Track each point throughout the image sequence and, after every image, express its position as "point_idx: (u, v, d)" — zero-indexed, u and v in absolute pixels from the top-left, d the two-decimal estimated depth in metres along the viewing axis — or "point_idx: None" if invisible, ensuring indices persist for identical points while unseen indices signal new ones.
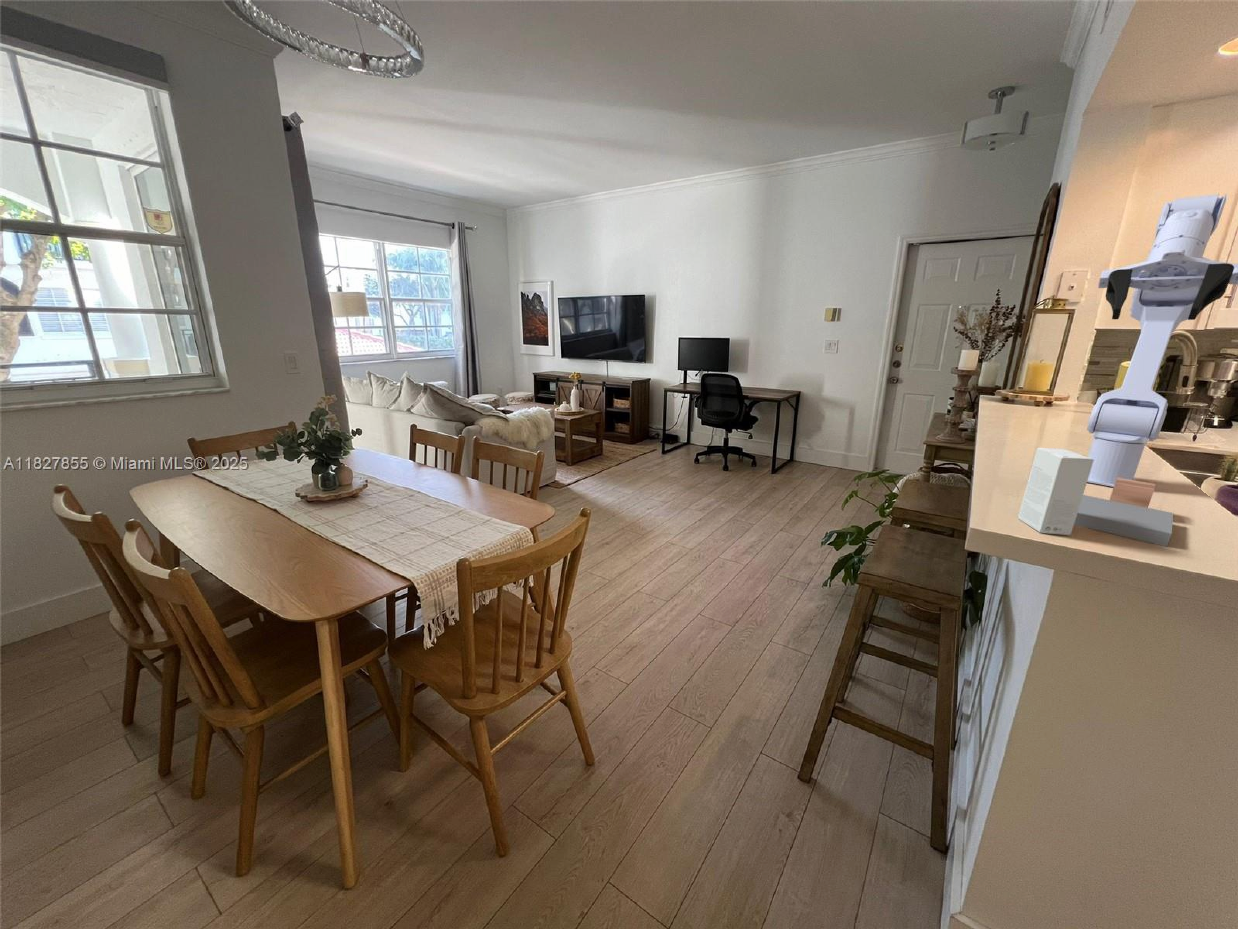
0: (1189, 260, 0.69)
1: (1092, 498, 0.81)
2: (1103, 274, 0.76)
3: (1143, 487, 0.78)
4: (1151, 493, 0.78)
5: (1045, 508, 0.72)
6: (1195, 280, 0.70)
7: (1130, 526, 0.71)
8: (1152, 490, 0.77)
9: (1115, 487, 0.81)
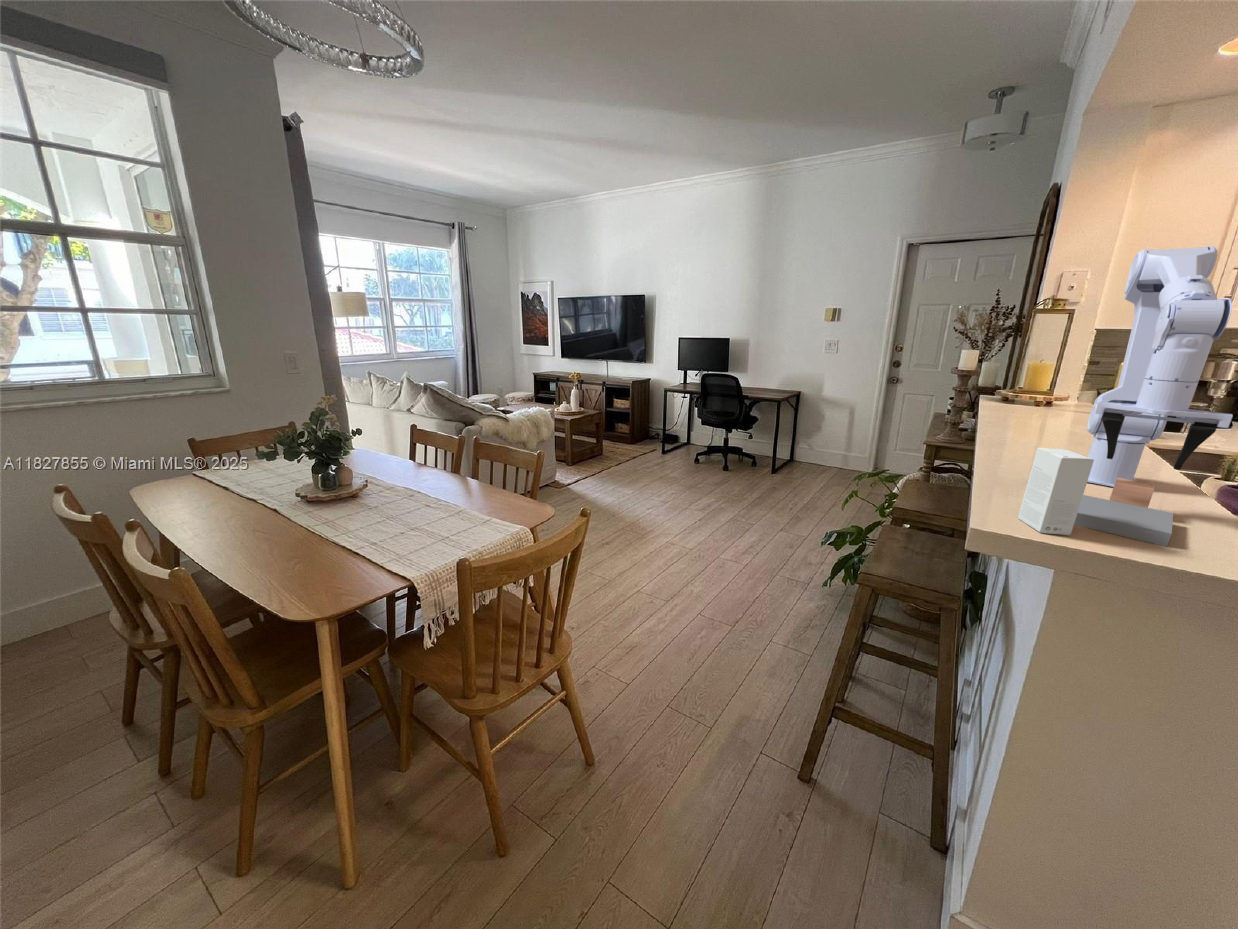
0: (1175, 415, 0.74)
1: (1092, 498, 0.81)
2: (1098, 409, 0.81)
3: (1143, 487, 0.78)
4: (1151, 493, 0.78)
5: (1045, 508, 0.72)
6: (1185, 422, 0.75)
7: (1130, 526, 0.71)
8: (1152, 490, 0.77)
9: (1115, 487, 0.81)
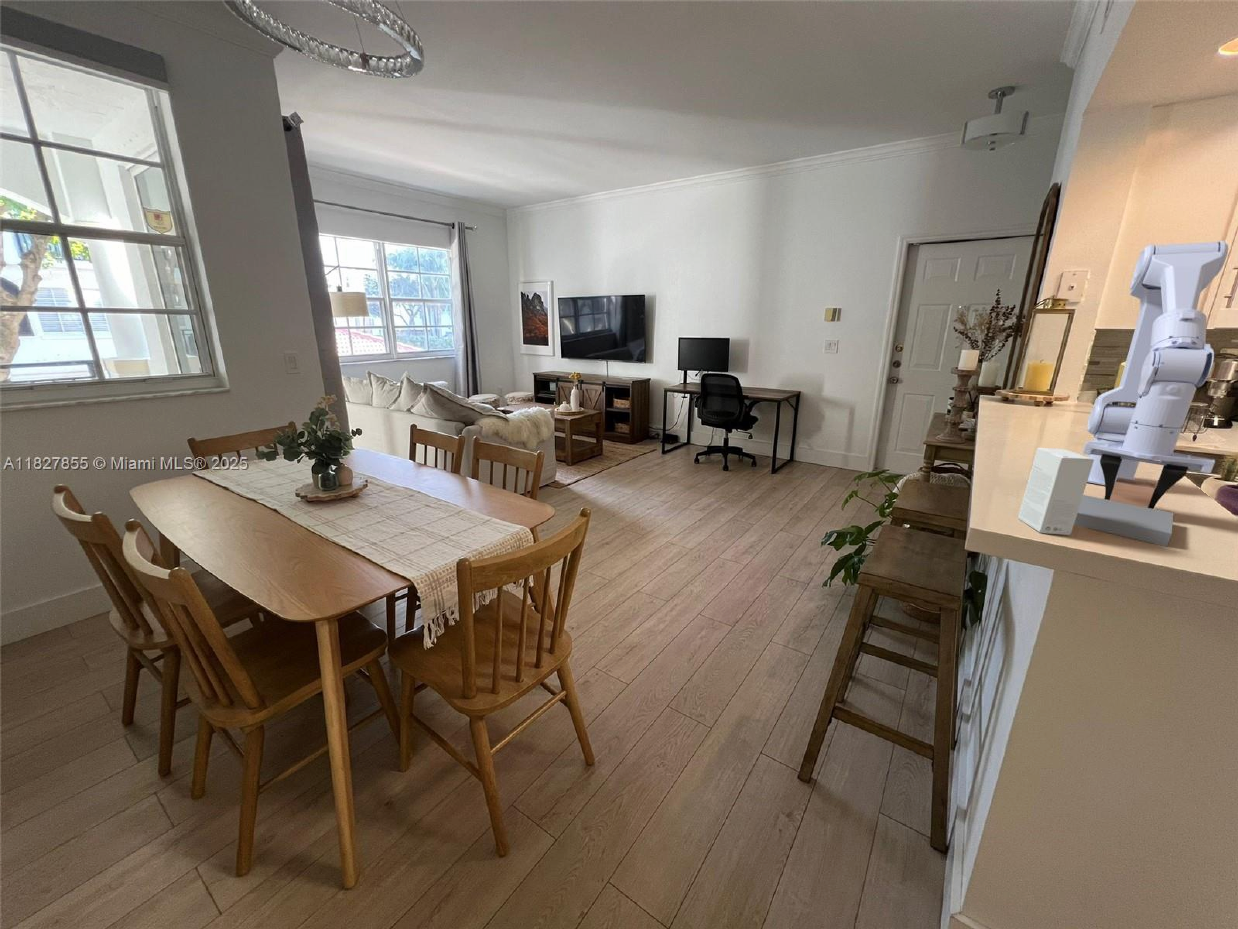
0: (1160, 460, 0.76)
1: (1092, 498, 0.81)
2: (1085, 449, 0.83)
3: (1143, 486, 0.78)
4: (1151, 492, 0.78)
5: (1045, 508, 0.72)
6: None
7: (1130, 526, 0.71)
8: (1152, 489, 0.77)
9: (1115, 487, 0.81)
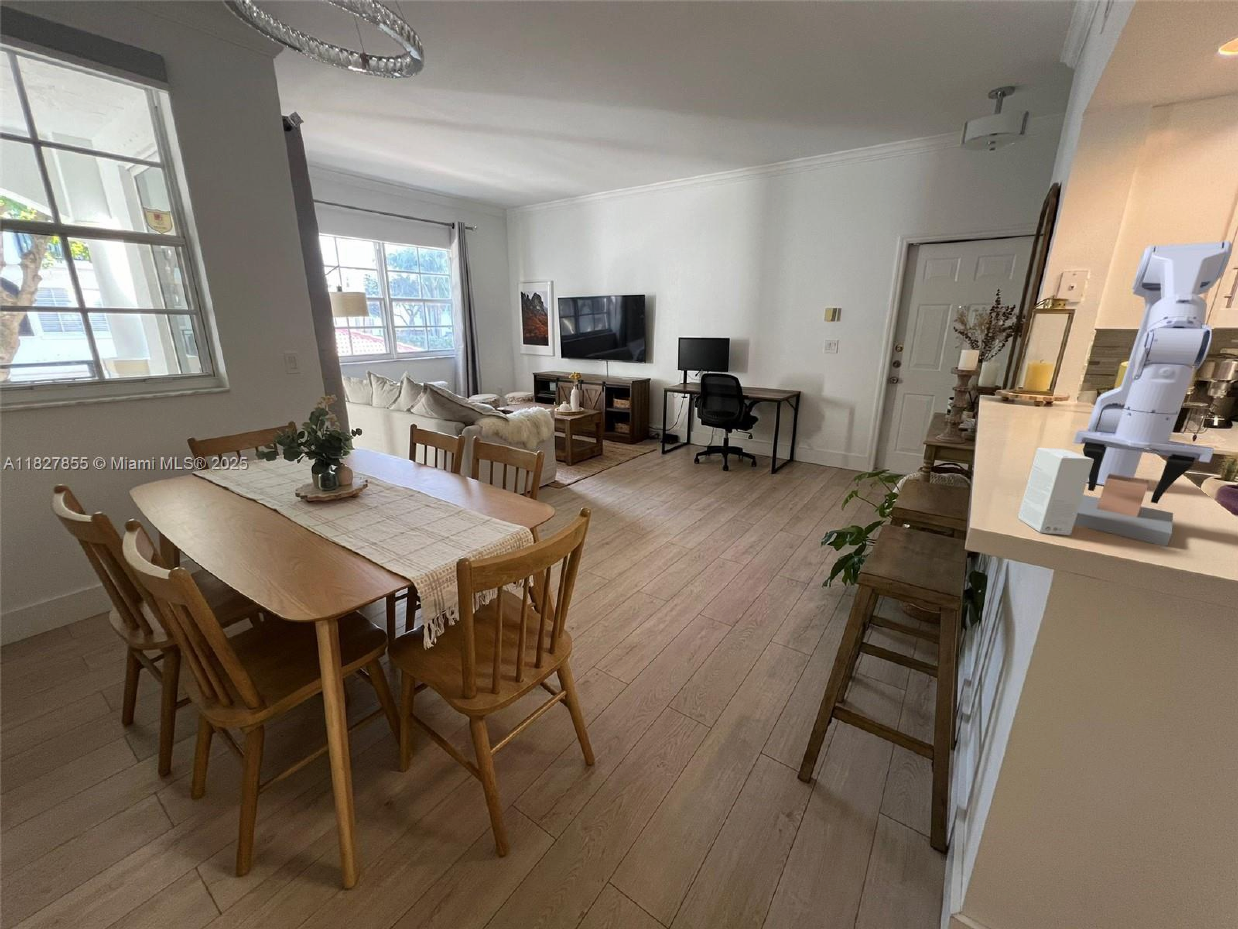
0: (1155, 448, 0.71)
1: (1092, 498, 0.81)
2: (1076, 438, 0.78)
3: (1136, 483, 0.74)
4: (1144, 490, 0.73)
5: (1045, 508, 0.72)
6: (1165, 454, 0.72)
7: (1130, 526, 0.71)
8: (1145, 487, 0.72)
9: (1106, 484, 0.76)
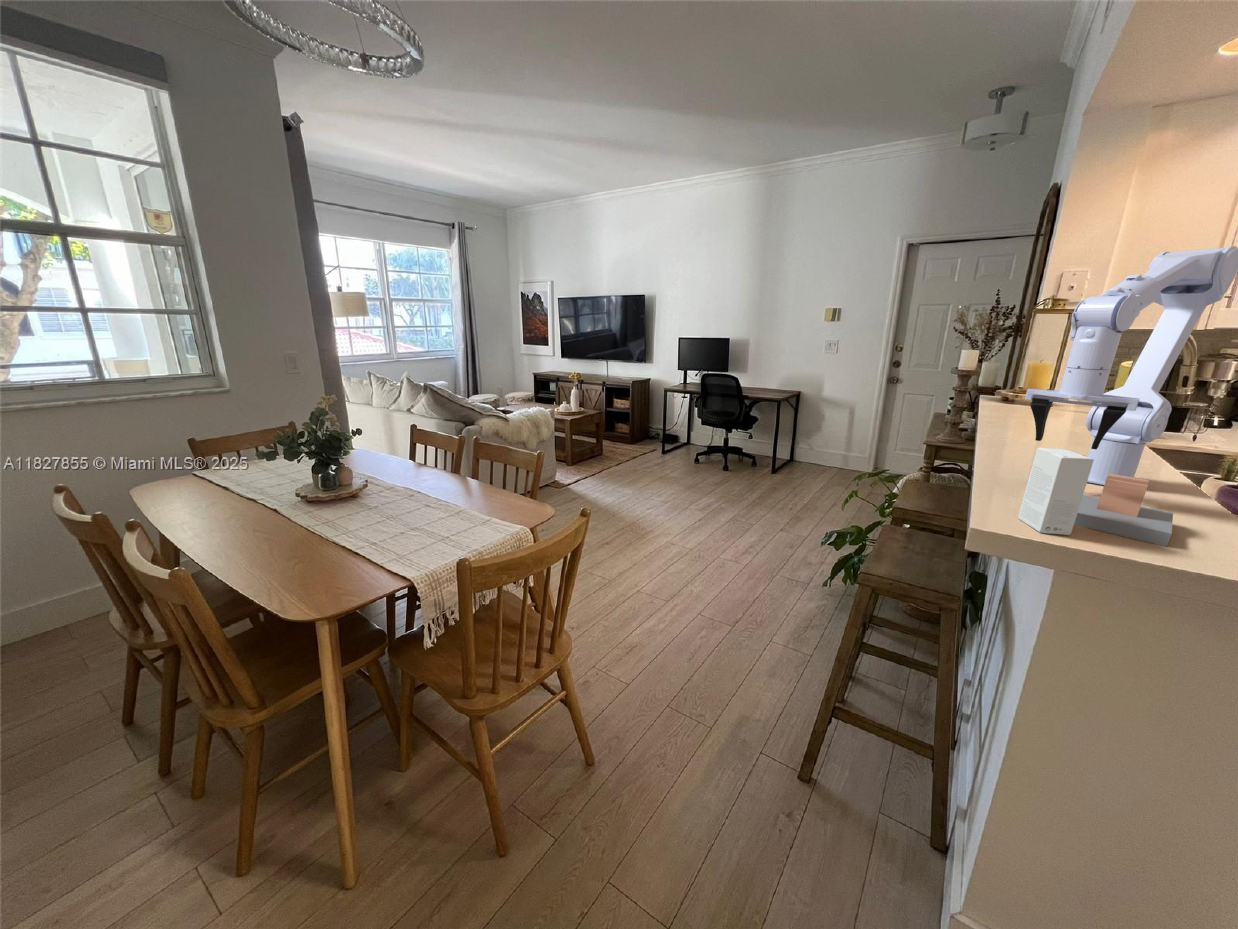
0: (1090, 400, 0.82)
1: (1092, 498, 0.81)
2: (1027, 395, 0.89)
3: (1136, 483, 0.74)
4: (1144, 490, 0.73)
5: (1045, 508, 0.72)
6: (1100, 406, 0.83)
7: (1130, 526, 0.71)
8: (1145, 487, 0.72)
9: (1106, 484, 0.76)
